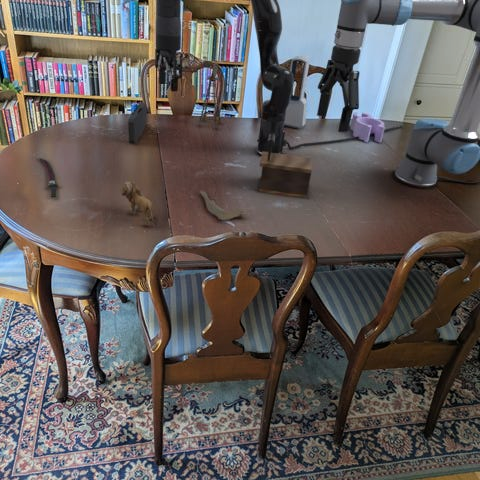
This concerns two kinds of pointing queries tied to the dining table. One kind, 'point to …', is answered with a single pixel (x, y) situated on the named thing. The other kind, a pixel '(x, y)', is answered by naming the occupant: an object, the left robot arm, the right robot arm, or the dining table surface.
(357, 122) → the clip
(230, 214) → the jawbone
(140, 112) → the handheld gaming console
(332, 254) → the dining table surface
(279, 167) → the lid
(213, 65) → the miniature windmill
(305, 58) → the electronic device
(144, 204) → the lion figurine
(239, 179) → the dining table surface
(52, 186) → the sword
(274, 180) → the chest
